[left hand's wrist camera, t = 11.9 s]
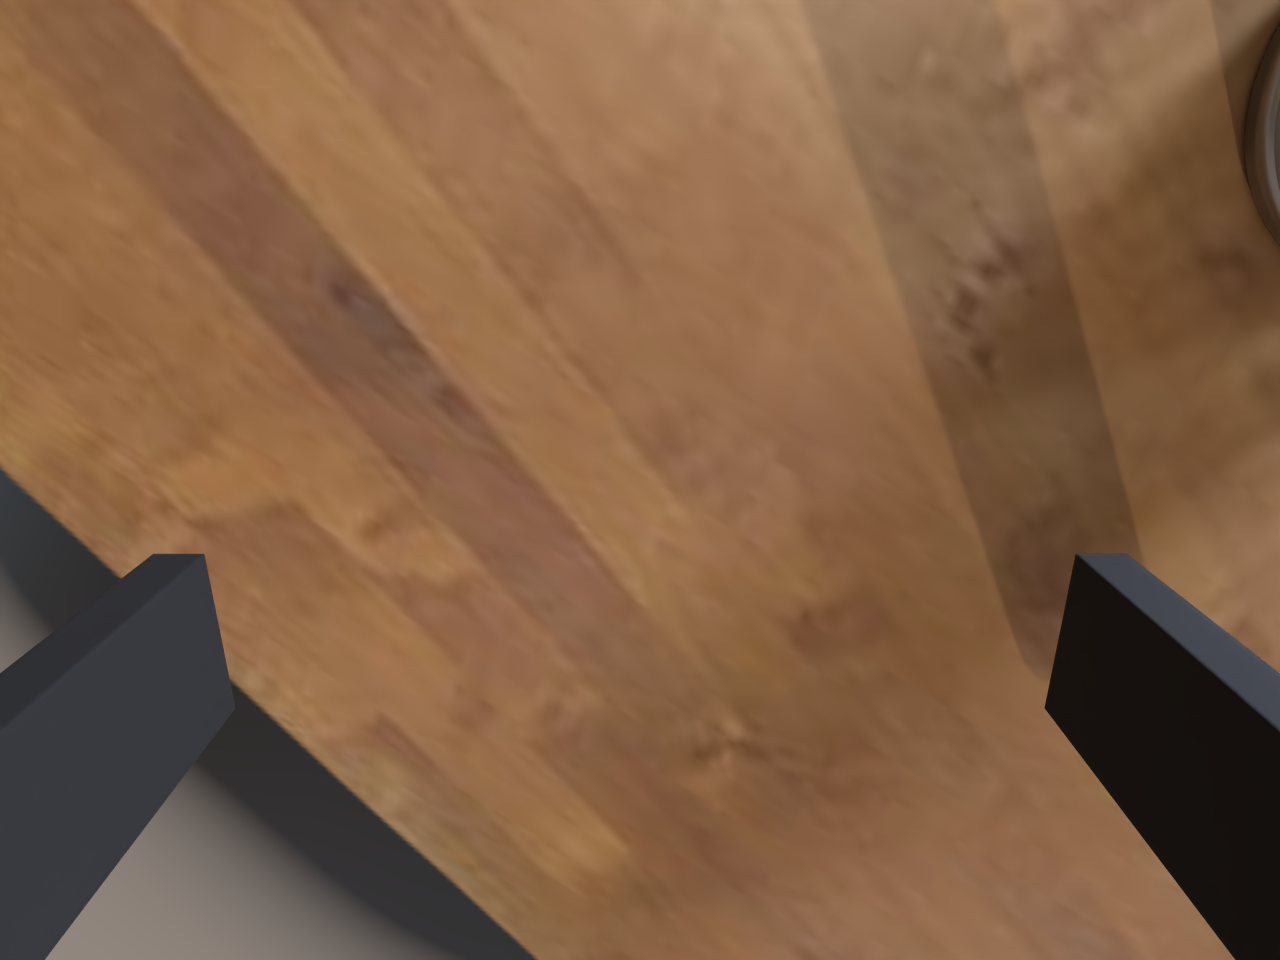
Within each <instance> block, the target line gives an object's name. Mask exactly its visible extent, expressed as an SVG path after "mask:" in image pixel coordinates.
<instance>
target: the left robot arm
mask: <svg viewBox="0 0 1280 960" xmlns="http://www.w3.org/2000/svg"><path fill="white" fill-rule="evenodd" d="M1245 162H1246V170H1247V177H1248V182H1249V186H1250V190H1251V194H1252V197H1253V200H1254V203H1255V205H1256V208H1257V210H1258V213H1259V215H1260V217H1261V218H1262V220H1263V222H1264V224H1265V226H1266V227H1267V229H1268V230H1269V232H1270V233H1271V235H1272V236H1273V237H1274V239H1275V240H1276V241H1277V242H1278V243H1279V244H1280V25H1279V27H1278V28H1277V30H1276V32H1275V34H1274V36H1273V38H1272V40H1271V42H1270V44H1269V46H1268V48H1267V51H1266V53H1265V56H1264V58H1263V60H1262V63H1261V65H1260V68H1259V71H1258V74H1257V77H1256V80H1255V83H1254V86H1253V90H1252V95H1251V99H1250V103H1249V108H1248V114H1247V121H1246V132H1245ZM234 709H235V704H234V699H233V694H232V689H231V684H230V679H229V674H228V669H227V664H226V659H225V654H224V649H223V644H222V639H221V635H220V630H219V625H218V620H217V615H216V610H215V605H214V600H213V595H212V590H211V585H210V580H209V575H208V570H207V565H206V560H205V555H204V554H153V555H151V556H150V557H149V558H148V559H146V560H145V561H144V562H142V563H141V564H140V565H139V566H137V567H136V568H135V569H133V570H132V571H131V572H130V573H128V574H127V575H126V576H125V577H123V578H122V579H121V580H119V581H118V582H117V583H116V584H114V585H113V586H112V587H110V588H109V589H108V590H107V591H105V592H104V593H103V594H101V595H100V596H99V597H98V598H96V599H95V600H94V601H92V602H91V603H90V604H89V605H87V606H86V607H85V608H83V609H82V610H81V611H80V612H78V613H77V614H76V615H75V616H73V617H72V618H71V619H69V620H68V621H67V622H66V623H64V624H63V625H62V626H60V627H59V628H58V629H57V630H55V631H54V632H53V633H52V634H50V635H49V636H48V637H46V638H45V639H44V640H42V641H41V642H40V643H39V644H37V645H36V646H35V647H33V648H32V649H31V650H30V651H28V652H27V653H26V654H25V655H23V656H22V657H21V658H19V659H18V660H17V661H16V662H14V663H13V664H12V665H10V666H9V667H8V668H7V669H5V670H4V671H3V672H1V673H0V960H45V959H46V957H47V956H48V954H49V953H50V952H51V951H52V949H53V948H54V947H55V945H56V944H57V943H58V941H59V940H60V939H61V937H62V936H63V935H64V933H65V932H66V931H67V929H68V928H69V927H70V925H71V924H72V923H73V922H74V920H75V919H76V918H77V916H78V915H79V914H80V912H81V911H82V910H83V908H84V907H85V906H86V904H87V903H88V902H89V900H90V899H91V898H92V897H93V895H94V894H95V892H96V891H97V890H98V889H99V887H100V886H101V885H102V883H103V882H104V881H105V879H106V878H107V877H108V875H109V874H110V873H111V871H112V870H113V869H114V868H115V866H116V865H117V864H118V862H119V861H120V860H121V858H122V857H123V856H124V854H125V853H126V852H127V850H128V849H129V848H130V846H131V845H132V844H133V842H134V841H135V840H136V839H137V837H138V836H139V835H140V833H141V832H142V831H143V829H144V828H145V827H146V825H147V824H148V823H149V821H150V820H151V819H152V817H153V816H154V815H155V813H156V812H157V811H158V809H159V808H160V807H161V806H162V804H163V803H164V802H165V800H166V799H167V798H168V796H169V795H170V794H171V792H172V791H173V790H174V788H175V787H176V786H177V784H178V783H179V782H180V780H181V779H182V778H183V777H184V775H185V774H186V773H187V771H188V770H189V769H190V767H191V766H192V765H193V763H194V762H195V761H196V759H197V758H198V757H199V755H200V754H201V753H202V751H203V750H204V749H205V748H206V746H207V745H208V743H209V742H210V741H211V740H212V738H213V737H214V736H215V734H216V733H217V732H218V730H219V729H220V728H221V726H222V725H223V724H224V722H225V721H226V720H227V718H228V717H229V716H230V715H231V713H232V712H233V711H234ZM1045 709H1046V711H1047V712H1048V713H1049V715H1050V716H1051V717H1052V718H1053V720H1054V721H1055V722H1056V724H1057V725H1058V726H1059V728H1060V729H1061V730H1062V732H1063V733H1064V734H1065V736H1066V737H1067V738H1068V740H1069V741H1070V742H1071V744H1072V745H1073V746H1074V748H1075V749H1076V750H1077V751H1078V753H1079V754H1080V755H1081V757H1082V758H1083V759H1084V761H1085V762H1086V763H1087V765H1088V766H1089V767H1090V769H1091V770H1092V771H1093V773H1094V774H1095V775H1096V777H1097V778H1098V779H1099V780H1100V782H1101V783H1102V784H1103V786H1104V787H1105V788H1106V790H1107V791H1108V792H1109V794H1110V795H1111V796H1112V798H1113V799H1114V800H1115V802H1116V803H1117V804H1118V806H1119V807H1120V808H1121V810H1122V811H1123V812H1124V813H1125V815H1126V816H1127V817H1128V819H1129V820H1130V821H1131V823H1132V824H1133V825H1134V827H1135V828H1136V829H1137V831H1138V832H1139V833H1140V835H1141V836H1142V837H1143V839H1144V840H1145V841H1146V842H1147V844H1148V845H1149V846H1150V848H1151V849H1152V850H1153V852H1154V853H1155V854H1156V856H1157V857H1158V858H1159V860H1160V861H1161V862H1162V864H1163V865H1164V866H1165V868H1166V869H1167V870H1168V871H1169V873H1170V874H1171V875H1172V877H1173V878H1174V879H1175V881H1176V882H1177V883H1178V885H1179V886H1180V887H1181V889H1182V890H1183V891H1184V893H1185V894H1186V895H1187V897H1188V898H1189V899H1190V901H1191V902H1192V903H1193V904H1194V906H1195V907H1196V908H1197V910H1198V911H1199V912H1200V914H1201V915H1202V916H1203V918H1204V919H1205V920H1206V922H1207V923H1208V924H1209V926H1210V927H1211V928H1212V930H1213V931H1214V932H1215V933H1216V935H1217V936H1218V937H1219V939H1220V940H1221V941H1222V943H1223V944H1224V945H1225V947H1226V948H1227V949H1228V951H1229V952H1230V953H1231V955H1232V956H1233V957H1234V959H1235V960H1280V673H1279V672H1277V671H1276V670H1275V669H1273V668H1272V667H1271V666H1270V665H1268V664H1267V663H1266V662H1264V661H1263V660H1262V659H1261V658H1259V657H1258V656H1257V655H1255V654H1254V653H1253V652H1252V651H1250V650H1249V649H1248V648H1247V647H1245V646H1244V645H1243V644H1241V643H1240V642H1239V641H1238V640H1236V639H1235V638H1234V637H1232V636H1231V635H1230V634H1229V633H1227V632H1226V631H1225V630H1223V629H1222V628H1221V627H1220V626H1218V625H1217V624H1216V623H1214V622H1213V621H1212V620H1211V619H1209V618H1208V617H1207V616H1205V615H1204V614H1203V613H1202V612H1200V611H1199V610H1198V609H1197V608H1195V607H1194V606H1193V605H1191V604H1190V603H1189V602H1188V601H1186V600H1185V599H1184V598H1182V597H1181V596H1180V595H1179V594H1177V593H1176V592H1175V591H1173V590H1172V589H1171V588H1170V587H1168V586H1167V585H1166V584H1164V583H1163V582H1162V581H1161V580H1159V579H1158V578H1157V577H1155V576H1154V575H1153V574H1152V573H1150V572H1149V571H1148V570H1147V569H1145V568H1144V567H1143V566H1141V565H1140V564H1139V563H1138V562H1136V561H1135V560H1134V559H1132V558H1131V557H1130V556H1129V555H1127V554H1076V555H1075V560H1074V565H1073V570H1072V575H1071V580H1070V585H1069V590H1068V595H1067V600H1066V605H1065V610H1064V615H1063V620H1062V625H1061V630H1060V635H1059V639H1058V644H1057V649H1056V654H1055V659H1054V664H1053V669H1052V674H1051V679H1050V684H1049V689H1048V694H1047V699H1046V704H1045Z"/></svg>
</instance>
